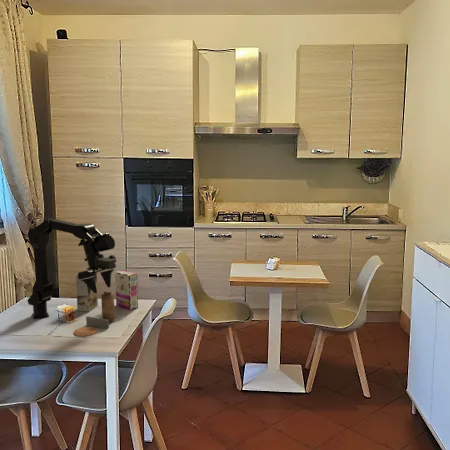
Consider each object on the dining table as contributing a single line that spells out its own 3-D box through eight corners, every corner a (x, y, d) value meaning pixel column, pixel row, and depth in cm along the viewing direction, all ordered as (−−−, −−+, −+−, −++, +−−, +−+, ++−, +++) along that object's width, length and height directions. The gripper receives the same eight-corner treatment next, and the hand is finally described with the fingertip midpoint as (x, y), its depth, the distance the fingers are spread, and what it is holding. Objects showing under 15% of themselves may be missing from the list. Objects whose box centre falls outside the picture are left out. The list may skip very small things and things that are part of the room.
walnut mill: (101, 320, 208) (99, 291, 206) (112, 318, 211) (111, 289, 209) (104, 324, 204) (102, 294, 202) (116, 322, 206) (115, 292, 204)
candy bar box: (138, 307, 225) (137, 273, 223) (130, 310, 222) (129, 275, 219) (124, 302, 233) (123, 269, 230) (115, 305, 229) (114, 271, 227)
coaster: (72, 330, 196) (71, 329, 196) (94, 326, 201) (94, 325, 200) (76, 337, 189) (76, 336, 188) (99, 333, 193) (99, 332, 193)
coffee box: (90, 311, 220) (88, 277, 217) (77, 311, 221) (75, 277, 218) (98, 305, 229) (96, 272, 226) (85, 305, 230) (84, 272, 227)
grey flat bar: (86, 324, 203) (86, 316, 202) (88, 324, 204) (87, 316, 203) (107, 328, 198) (107, 320, 198) (109, 328, 199) (108, 319, 199)
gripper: (94, 254, 187) (104, 293, 188) (121, 246, 205) (130, 281, 205) (72, 260, 192) (82, 297, 192) (100, 251, 209) (109, 285, 210)
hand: (102, 290), depth 200 cm, fingers open, 9 cm apart
